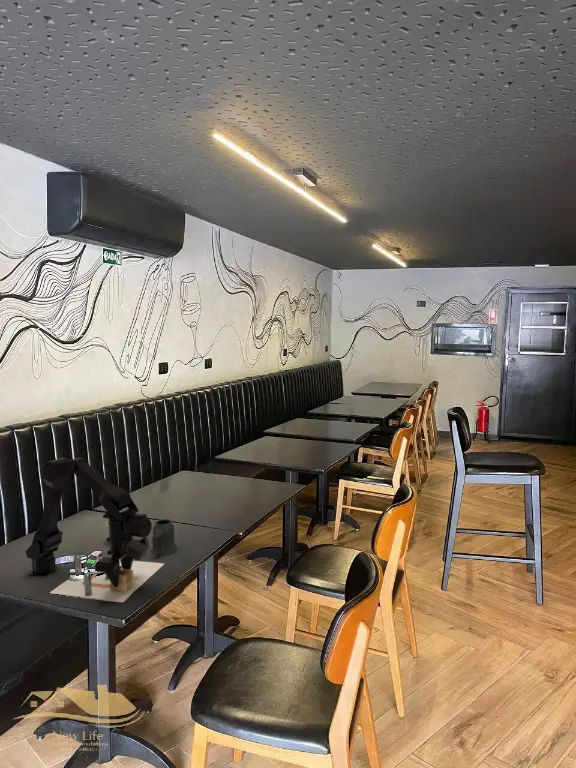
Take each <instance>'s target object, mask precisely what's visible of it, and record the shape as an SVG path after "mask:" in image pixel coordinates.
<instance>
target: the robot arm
mask: <svg viewBox="0 0 576 768" xmlns="http://www.w3.org/2000/svg"><path fill="white" fill-rule="evenodd" d="M71 474H74V475H75V476H76V477H77V478H78V479H79V480H80V481H81V482H82V483H84V484H85V485H86V486H87V488H89V489H90V490H91V491H92V492H93V493H95V494H96V495H97V497H98V498H99V499H98V500H99V503H100V505H101V506H102V507H103V509H105V511H106V512H105V513H104V514H103V515H102V518H103V519H108V521H109V530H108V533H109V536H107V537H106V542H108V543H109V549H108V550H107V551H106V553H107V555H110V556H111V557H108V556H103V557H100V558H101V559H100V560H99V561H97V562H96V563H95V564H94V565H95V571H97V572H105V574H106V575H107V576H108V578H109V579H110V581H111V583H112V584H113V586H114V587H118V579H119V570H120V569H121V568H122V569H130V570H131V567H132V563H133V561H141V560H142V559H143V558H144V557H146V554H147V551H148V550H149V549H150V543H149V538H147V537H148V536H149V535H150V534H151V532H152V529H153V525H152V522H151V519H150V518H148V516H147V513H138V512H139V509H138V507H137V505H136V504H135V502H134V500H133V499H132V497H131V494H130V492H129V491H127V490H126V489H124V488H123V487H121V486H120V485H119V486H118V485H115V484H112V483H110V482H109V481H108V480H107V479H106V478H104V476H102V474H100V473H99V472H98V471H97V470H96V469H95V468H94V467H92V466H91V465H90V464H89V463H88V462H87V459H86V458H84V457H77V458H71V459H68V458H67V457H61V458H56V459H54V460H53V459H52V460H49V461H47V462H46V463H44V464H43V466H42V479H43V481H44V483H45V486H46V487H45V493H44V502H43V506H42V507H43V509H42V513H41V514H42V515H41V522H40V526H39V527H38V529H37V530H36V531H35V533H34V534H33V537H32V540H31V544H30V546H29V547H28V548H27V549H26V550H25V555H26V558H27V559H31V568H32V570H31V571H30V573H31V574H32V575H31V576H33V575H34V576H38V575H39V577H47V576H49V575H51V574H52V573H53V572H54V570H55V571H56V570H58V569H59V567H58V566H56V565H57V564H56V557H55V553H54V552H58V551H59V546H60V545H61V543H63V534H64V533H63V531H61V530H60V528H59V527H58V522H59V516H60V509H61V504H62V497H63V491H64V486H65V485H66V484H67V481H69V479H70V478H71ZM125 509H126V510H125ZM134 537H137V538H141V539H134ZM119 560H120V561H119ZM120 562H121V565H122V566H120ZM57 568H58V569H57ZM30 573H29V574H30ZM29 574H28V575H29Z"/></svg>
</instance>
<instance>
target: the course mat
mask: <svg viewBox="0 0 576 768" xmlns="http://www.w3.org/2000/svg"><path fill="white" fill-rule="evenodd" d="M119 561H120V560H119ZM164 565H165V563H164V562H162V563H161V562H154V561H153V562H152V561H151V562H150V561H141V560H133V563H132V567H131V570H133V581H134V585H133V586H132V587H131V588H130V589H129V590H128V591H127V592H125V593H122V592H113V591H110V588H103V587H93V586H92V595H91V596H85V588H84V585H82V582H84V579H82V580H79V581H75V582H74V581H70V580H68V579H67V580H66V581H64V582H63V583H61V584H60V585H58V586H56V587H55V588H54V589H53V590H51V591H50V592H49V593H51V594H50V595H52V594H59V595H58V596H61V595H66V596H65V597H69V596H73V597H72V598H78V597H80V599H81V598H82V599H88V600H89V599H90V600H98V601H106V602H114V603H115V602H116V603H122V604H123V603H124V602H126V601H127V600H128V599H129V598H131V595H132V594H133V593H134V592H136V590H138V589H139V588H140V587H141V586H142V585H143V584H144V583H145V582H146V581H148V579H150V578H151V577H152V576H153V575H154V574H155V573H157V572H158V570H159V569H161V568H162V567H163V566H164ZM120 566H122V565H121V562H120ZM121 569H122V568H121ZM91 583H97V584H106V585H110V580H106V578H105V574H103V575H100V576H96V577H94V578H93V579H92V580H91Z"/></svg>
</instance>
